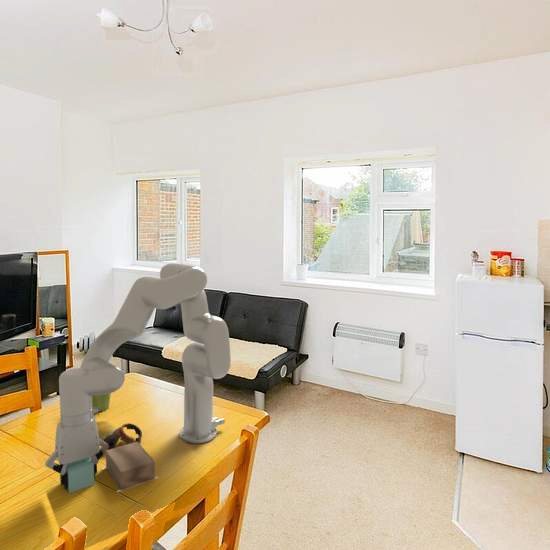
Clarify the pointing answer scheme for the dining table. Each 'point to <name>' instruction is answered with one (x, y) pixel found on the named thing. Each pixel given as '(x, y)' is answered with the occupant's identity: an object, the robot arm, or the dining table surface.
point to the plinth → (130, 465)
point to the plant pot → (101, 401)
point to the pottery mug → (123, 436)
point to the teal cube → (80, 474)
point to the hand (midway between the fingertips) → (79, 480)
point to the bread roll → (105, 429)
